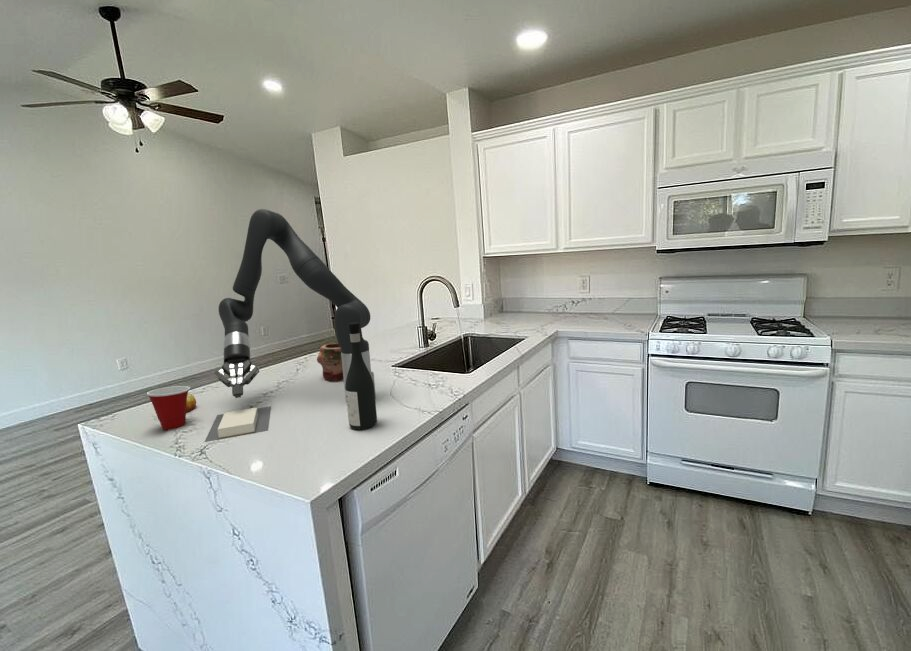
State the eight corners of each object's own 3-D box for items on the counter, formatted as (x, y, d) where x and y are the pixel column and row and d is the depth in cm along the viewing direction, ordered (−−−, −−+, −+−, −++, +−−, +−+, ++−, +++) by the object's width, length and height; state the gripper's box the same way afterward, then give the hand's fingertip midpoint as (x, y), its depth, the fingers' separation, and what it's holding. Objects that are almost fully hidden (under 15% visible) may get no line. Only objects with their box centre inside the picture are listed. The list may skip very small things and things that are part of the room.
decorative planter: (369, 375, 174) (366, 342, 171) (353, 384, 162) (349, 349, 160) (328, 373, 180) (325, 341, 178) (310, 381, 169) (306, 347, 167)
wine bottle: (353, 433, 117) (342, 326, 112) (346, 423, 124) (336, 323, 119) (381, 426, 121) (372, 322, 116) (373, 417, 128) (364, 319, 123)
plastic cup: (203, 422, 131) (197, 385, 129) (168, 436, 122) (161, 396, 120) (181, 418, 136) (175, 382, 134) (145, 431, 126) (138, 393, 124)
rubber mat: (217, 416, 136) (217, 414, 136) (271, 407, 141) (271, 406, 141) (204, 443, 115) (204, 441, 115) (268, 432, 121) (268, 430, 121)
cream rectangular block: (224, 412, 129) (217, 429, 116) (257, 407, 132) (253, 423, 120) (226, 421, 130) (219, 438, 117) (258, 415, 133) (254, 432, 120)
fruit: (204, 408, 143) (193, 388, 140) (171, 427, 136) (159, 406, 133) (193, 401, 150) (182, 382, 147) (161, 418, 143) (149, 399, 140)
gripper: (211, 345, 132) (210, 394, 123) (257, 340, 136) (260, 387, 127) (216, 358, 138) (215, 406, 128) (260, 352, 142) (263, 398, 133)
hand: (237, 396), depth 128 cm, fingers closed
